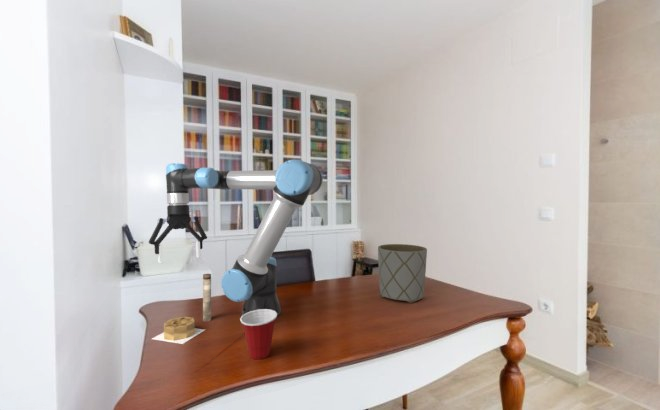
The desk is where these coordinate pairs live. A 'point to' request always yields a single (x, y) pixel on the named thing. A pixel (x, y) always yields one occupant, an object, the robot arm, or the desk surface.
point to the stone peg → (206, 297)
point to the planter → (402, 271)
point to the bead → (179, 328)
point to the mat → (181, 341)
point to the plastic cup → (259, 331)
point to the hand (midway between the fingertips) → (179, 260)
